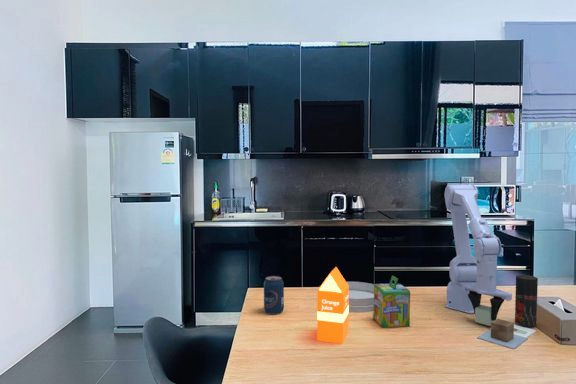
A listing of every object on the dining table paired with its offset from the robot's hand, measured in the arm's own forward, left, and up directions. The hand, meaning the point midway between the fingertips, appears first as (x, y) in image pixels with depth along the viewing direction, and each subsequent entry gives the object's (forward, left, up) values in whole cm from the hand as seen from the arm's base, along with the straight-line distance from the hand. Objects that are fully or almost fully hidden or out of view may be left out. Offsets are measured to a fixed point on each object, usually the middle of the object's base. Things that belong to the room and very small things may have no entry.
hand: (485, 317), depth 129 cm
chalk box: (-21, -21, -3) cm, 29 cm away
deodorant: (+8, +9, -2) cm, 13 cm away
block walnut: (+8, -8, -2) cm, 11 cm away
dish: (-42, -14, -3) cm, 44 cm away
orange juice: (-26, -43, -2) cm, 50 cm away
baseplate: (+8, -8, -2) cm, 11 cm away
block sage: (0, 0, -2) cm, 2 cm away
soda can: (-54, -43, -2) cm, 69 cm away
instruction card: (+9, +1, -2) cm, 9 cm away
